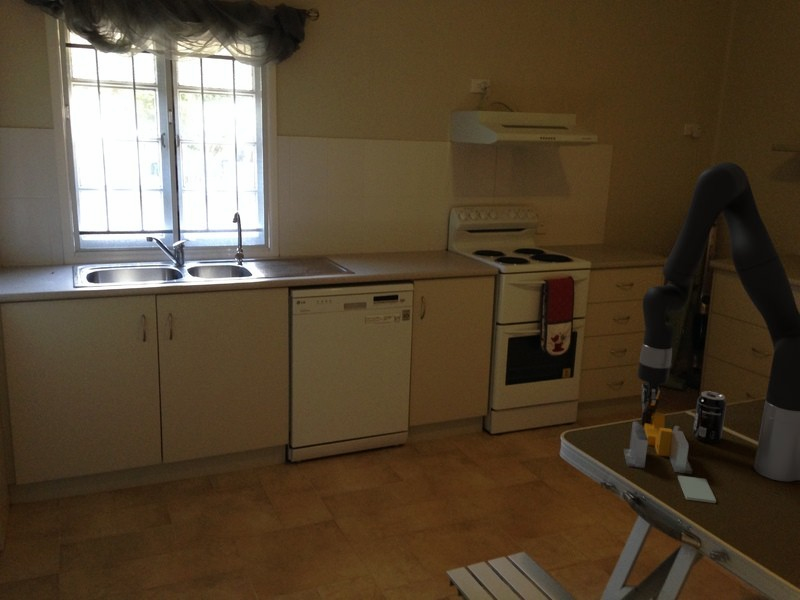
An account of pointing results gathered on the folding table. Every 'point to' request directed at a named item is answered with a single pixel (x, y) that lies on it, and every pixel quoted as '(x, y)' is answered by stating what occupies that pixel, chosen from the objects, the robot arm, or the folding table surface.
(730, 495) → the folding table surface
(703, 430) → the beverage can
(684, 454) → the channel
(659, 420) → the pipe clamp
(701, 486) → the pad
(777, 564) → the folding table surface
